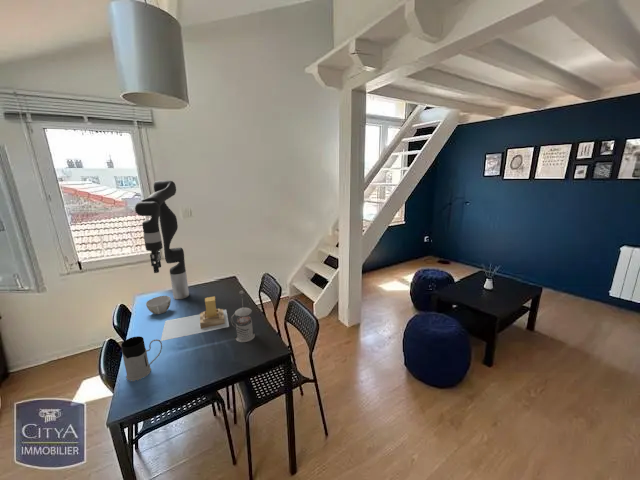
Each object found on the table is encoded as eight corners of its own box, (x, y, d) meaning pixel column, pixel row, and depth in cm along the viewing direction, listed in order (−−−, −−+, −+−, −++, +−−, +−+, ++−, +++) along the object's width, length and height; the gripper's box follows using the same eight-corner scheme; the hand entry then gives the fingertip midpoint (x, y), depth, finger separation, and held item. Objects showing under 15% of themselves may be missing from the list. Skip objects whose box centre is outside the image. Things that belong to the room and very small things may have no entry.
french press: (249, 343, 134) (246, 296, 127) (228, 340, 136) (223, 294, 130) (258, 331, 143) (255, 287, 137) (237, 329, 145) (233, 285, 139)
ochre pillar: (207, 314, 152) (205, 297, 150) (216, 312, 154) (214, 296, 152) (207, 318, 148) (205, 301, 145) (217, 316, 150) (215, 300, 147)
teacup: (149, 310, 165) (147, 297, 163) (172, 305, 171) (171, 293, 169) (146, 322, 152) (143, 309, 150) (171, 317, 157) (169, 304, 155)
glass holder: (128, 369, 116) (122, 338, 113) (166, 360, 122) (161, 330, 118) (123, 384, 109) (116, 351, 105) (164, 373, 114) (159, 341, 110)
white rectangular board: (165, 322, 152) (165, 320, 152) (226, 310, 164) (226, 309, 164) (160, 342, 134) (160, 340, 134) (229, 328, 146) (229, 326, 146)
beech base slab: (200, 317, 155) (199, 310, 154) (223, 313, 159) (222, 306, 158) (200, 328, 144) (199, 321, 143) (224, 323, 149) (224, 316, 148)
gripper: (159, 243, 137) (164, 273, 141) (163, 236, 150) (167, 264, 154) (142, 244, 135) (147, 275, 139) (147, 238, 147) (151, 266, 151)
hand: (157, 269), depth 146 cm, fingers open, 8 cm apart
